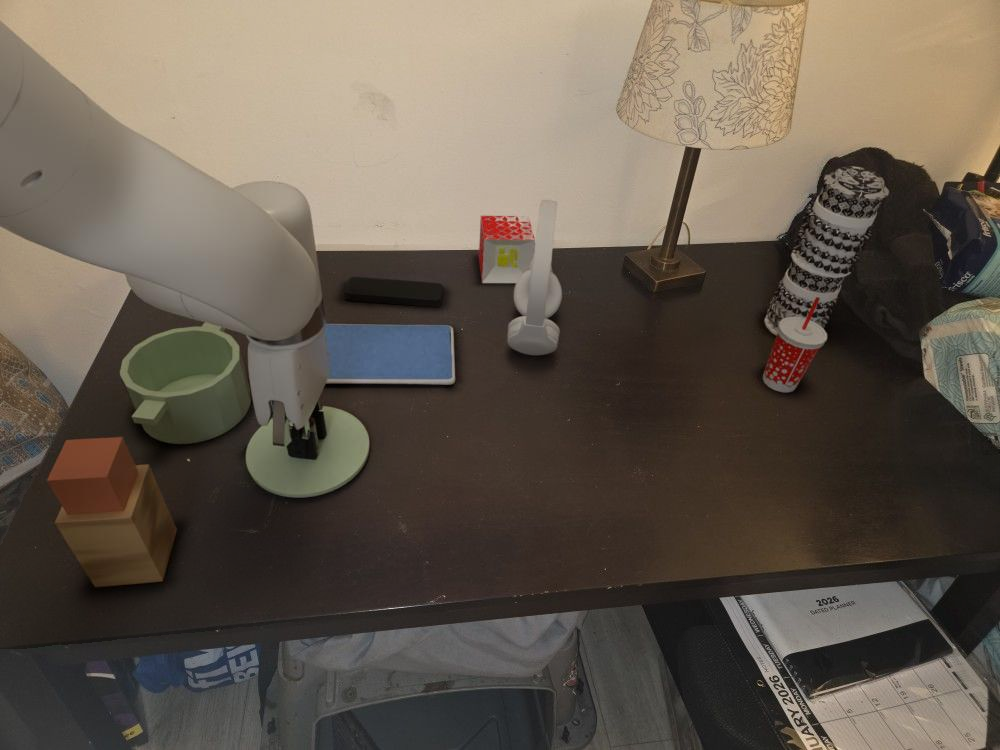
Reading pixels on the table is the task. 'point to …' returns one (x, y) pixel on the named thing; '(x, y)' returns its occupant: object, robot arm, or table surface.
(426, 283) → the remote control
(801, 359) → the beverage cup
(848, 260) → the white patterned cylinder
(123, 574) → the block
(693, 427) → the table surface
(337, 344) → the tablet
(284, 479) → the lid
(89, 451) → the block
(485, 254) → the red and white cube
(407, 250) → the table surface
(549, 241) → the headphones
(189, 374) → the light green round pot
